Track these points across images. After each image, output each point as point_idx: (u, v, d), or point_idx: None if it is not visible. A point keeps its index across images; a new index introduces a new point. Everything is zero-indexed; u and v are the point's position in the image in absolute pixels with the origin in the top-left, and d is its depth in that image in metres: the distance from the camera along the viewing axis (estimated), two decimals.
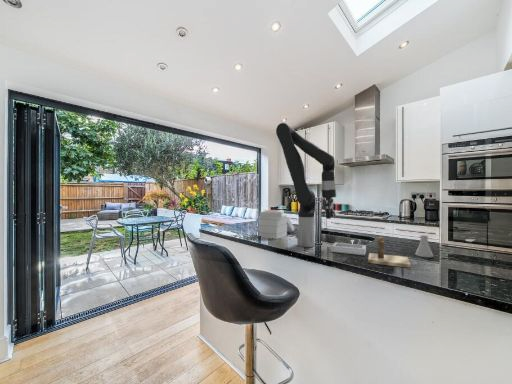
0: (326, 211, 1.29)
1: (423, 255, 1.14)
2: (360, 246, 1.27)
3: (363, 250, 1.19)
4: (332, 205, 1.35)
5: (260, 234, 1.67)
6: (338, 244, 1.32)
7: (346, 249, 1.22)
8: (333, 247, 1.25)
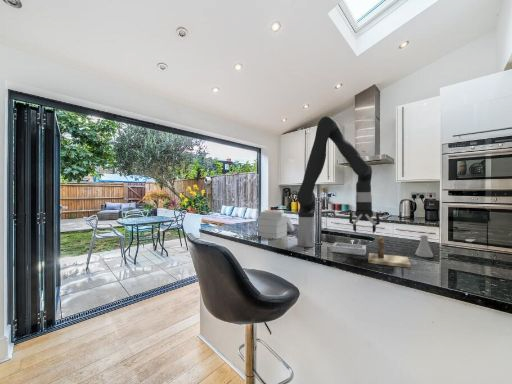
0: None
1: (423, 255, 1.14)
2: (360, 246, 1.27)
3: (363, 250, 1.19)
4: None
5: (260, 234, 1.67)
6: (338, 244, 1.32)
7: (346, 249, 1.22)
8: (333, 247, 1.25)
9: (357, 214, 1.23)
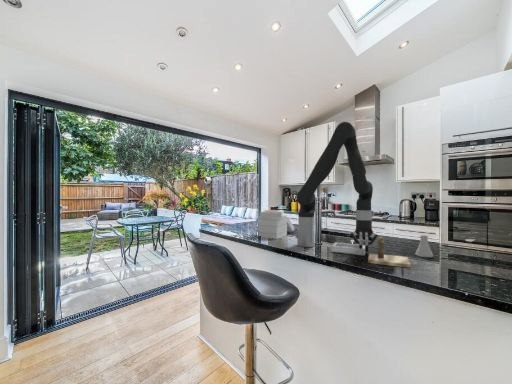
0: None
1: (423, 255, 1.14)
2: None
3: (363, 250, 1.19)
4: None
5: (260, 234, 1.67)
6: (338, 244, 1.32)
7: (346, 249, 1.22)
8: (333, 247, 1.25)
9: (357, 234, 1.23)
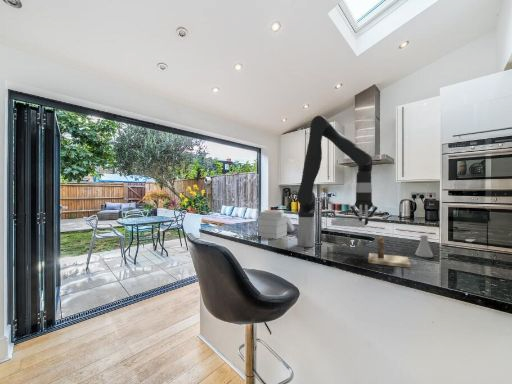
0: (368, 217, 1.21)
1: (423, 255, 1.14)
2: None
3: (363, 222, 1.19)
4: None
5: (260, 234, 1.67)
6: (338, 219, 1.32)
7: (346, 222, 1.22)
8: (333, 220, 1.25)
9: (357, 207, 1.23)
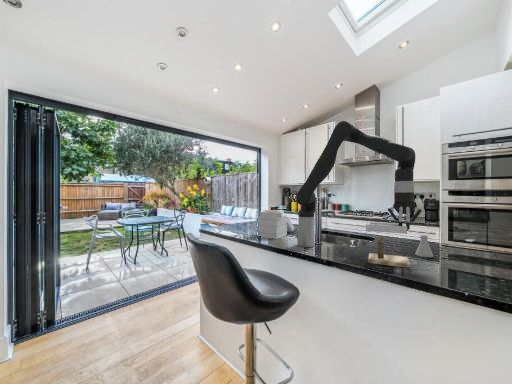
0: (410, 221, 1.04)
1: (423, 255, 1.14)
2: (398, 225, 1.09)
3: (405, 227, 1.01)
4: None
5: (260, 234, 1.67)
6: (371, 223, 1.15)
7: (383, 227, 1.05)
8: (367, 225, 1.08)
9: (396, 209, 1.06)
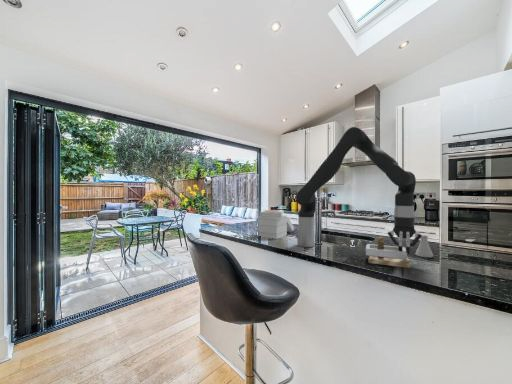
0: (410, 246, 1.04)
1: (423, 255, 1.14)
2: (398, 248, 1.09)
3: (405, 253, 1.01)
4: None
5: (260, 234, 1.67)
6: (371, 246, 1.15)
7: (384, 252, 1.05)
8: (367, 249, 1.08)
9: (396, 233, 1.06)
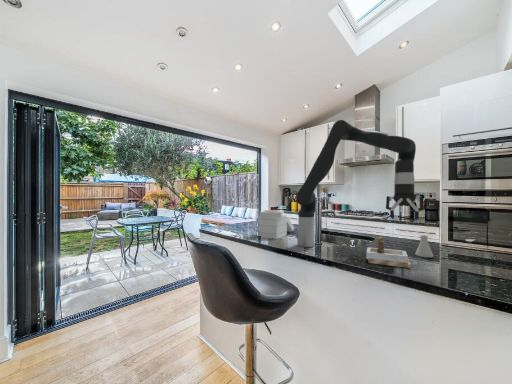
0: None
1: (423, 255, 1.14)
2: (399, 252, 1.09)
3: (405, 257, 1.01)
4: None
5: (260, 234, 1.67)
6: (372, 249, 1.15)
7: (384, 256, 1.05)
8: (368, 253, 1.08)
9: (396, 198, 1.06)
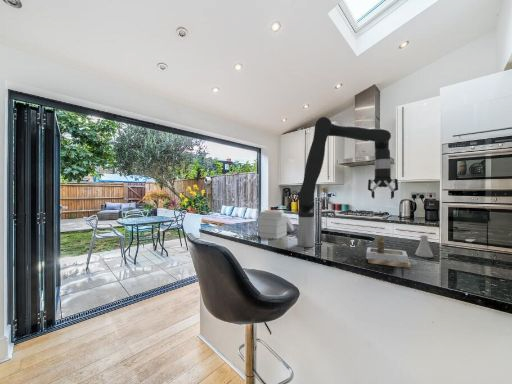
0: None
1: (423, 255, 1.14)
2: (399, 252, 1.09)
3: (405, 257, 1.01)
4: None
5: (260, 234, 1.67)
6: (372, 249, 1.15)
7: (384, 256, 1.05)
8: (368, 253, 1.08)
9: (376, 181, 1.27)
